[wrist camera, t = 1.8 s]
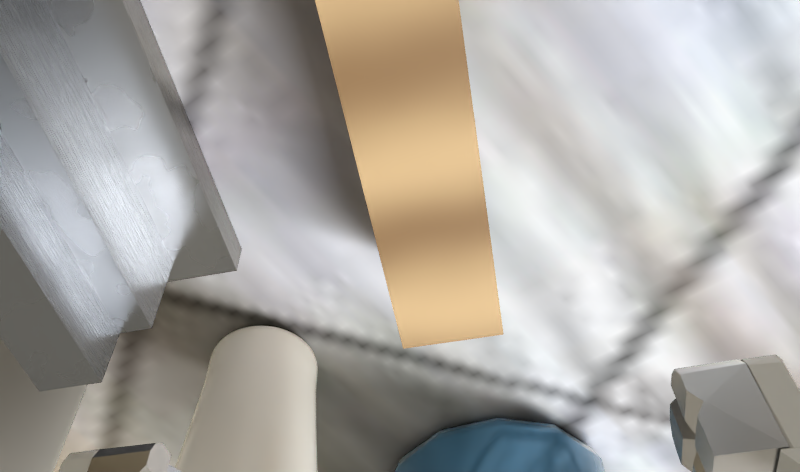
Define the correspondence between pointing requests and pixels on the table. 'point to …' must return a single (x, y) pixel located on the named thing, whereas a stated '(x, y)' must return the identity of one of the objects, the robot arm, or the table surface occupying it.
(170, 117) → the ridge
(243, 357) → the cream cylinder
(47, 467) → the can
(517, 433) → the blue rounded container
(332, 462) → the table surface
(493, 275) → the wooden block
